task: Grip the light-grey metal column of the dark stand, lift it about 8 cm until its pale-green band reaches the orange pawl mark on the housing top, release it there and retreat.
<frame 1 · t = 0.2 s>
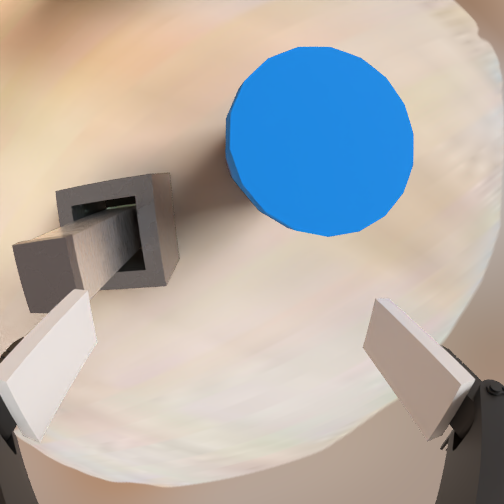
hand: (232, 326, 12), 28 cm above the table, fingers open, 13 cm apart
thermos: (266, 157, 38), on the table
column: (98, 240, 27), point 11 cm above the table, slide at 0.0 cm
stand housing: (133, 221, 38), on the table
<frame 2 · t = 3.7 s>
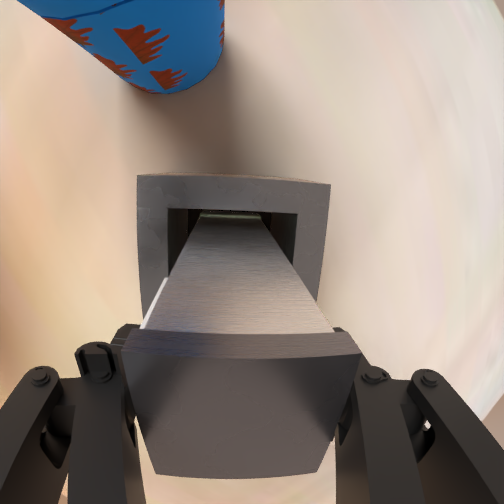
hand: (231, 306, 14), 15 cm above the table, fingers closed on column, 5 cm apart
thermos: (170, 48, 23), on the table
column: (230, 285, 17), point 11 cm above the table, slide at 0.0 cm, touching gripper
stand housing: (228, 236, 28), on the table
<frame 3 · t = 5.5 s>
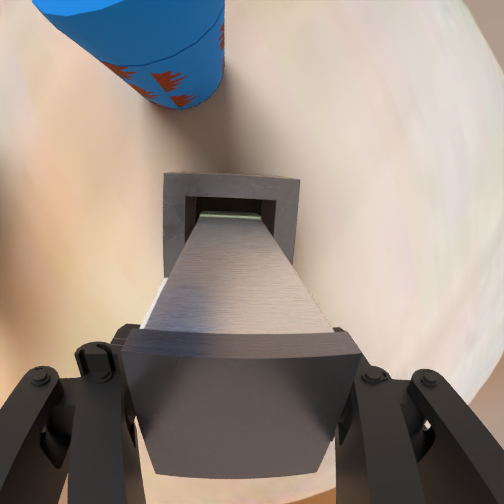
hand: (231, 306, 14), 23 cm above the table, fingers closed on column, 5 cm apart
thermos: (181, 72, 30), on the table
column: (230, 286, 17), point 19 cm above the table, slide at 7.9 cm, touching gripper
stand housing: (228, 222, 36), on the table
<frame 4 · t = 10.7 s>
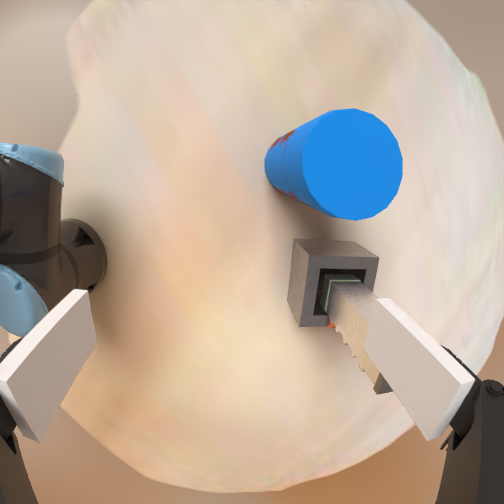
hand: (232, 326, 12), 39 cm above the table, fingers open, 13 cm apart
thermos: (294, 165, 48), on the table
column: (364, 323, 36), point 19 cm above the table, slide at 8.0 cm
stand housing: (321, 271, 54), on the table
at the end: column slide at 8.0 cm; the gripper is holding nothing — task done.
